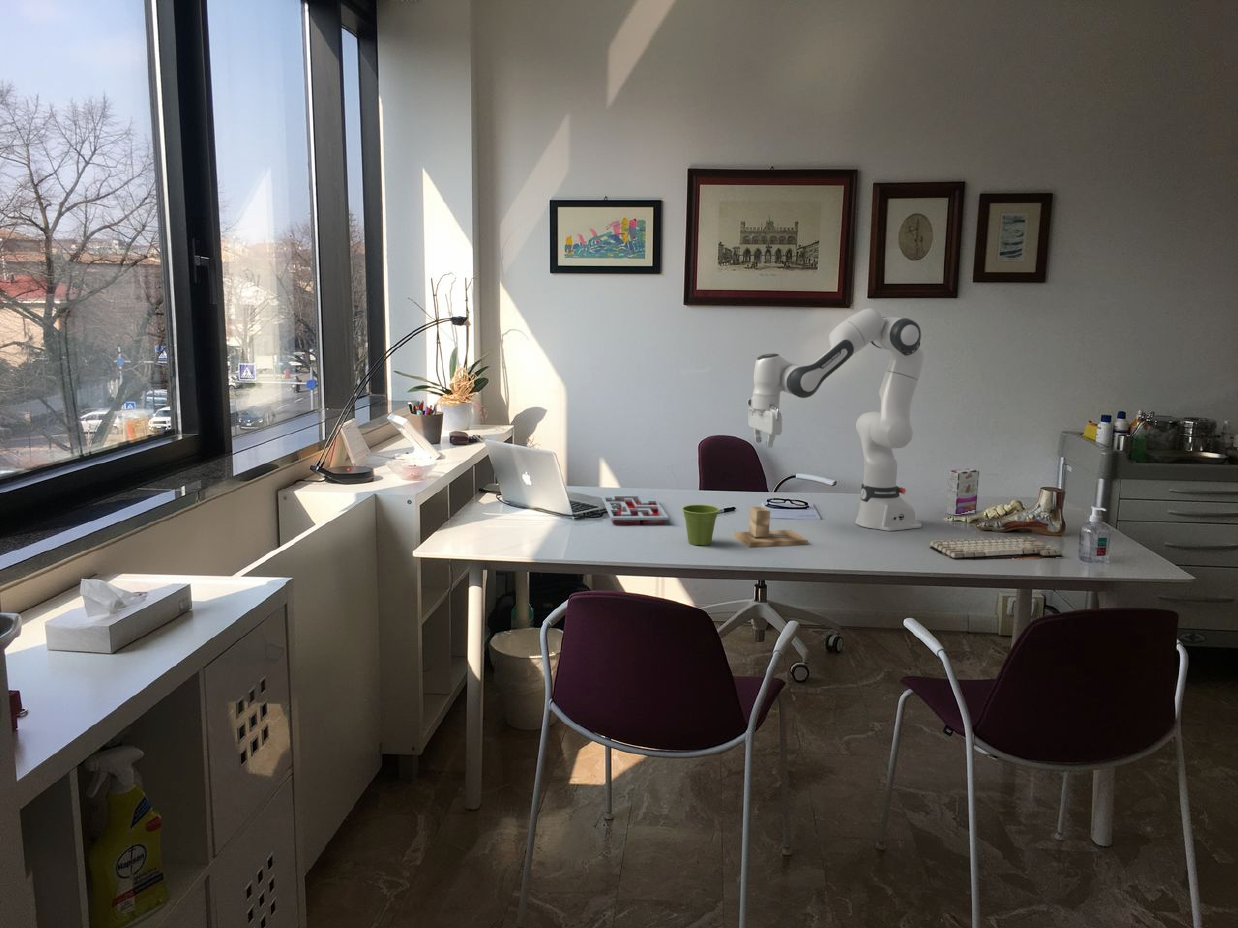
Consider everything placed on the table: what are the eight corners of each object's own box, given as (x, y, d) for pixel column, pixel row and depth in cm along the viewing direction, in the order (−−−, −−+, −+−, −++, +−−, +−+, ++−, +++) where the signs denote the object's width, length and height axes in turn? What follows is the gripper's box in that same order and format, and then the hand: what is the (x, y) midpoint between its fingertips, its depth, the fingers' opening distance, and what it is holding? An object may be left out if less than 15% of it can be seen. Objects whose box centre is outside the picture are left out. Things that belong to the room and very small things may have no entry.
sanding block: (762, 533, 315) (763, 506, 314) (768, 537, 310) (770, 510, 309) (748, 534, 314) (750, 507, 313) (755, 538, 309) (756, 510, 307)
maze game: (668, 526, 330) (668, 517, 329) (611, 526, 327) (611, 517, 327) (653, 503, 364) (653, 495, 363) (601, 503, 362) (601, 495, 361)
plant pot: (689, 536, 316) (690, 502, 314) (723, 541, 311) (725, 507, 308) (674, 544, 306) (675, 509, 303) (709, 550, 300) (710, 514, 298)
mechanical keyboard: (958, 564, 293) (959, 553, 293) (924, 548, 312) (925, 538, 311) (1066, 560, 302) (1067, 549, 301) (1027, 544, 320) (1028, 534, 320)
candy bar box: (965, 510, 364) (969, 467, 361) (976, 513, 360) (980, 470, 357) (944, 513, 358) (948, 469, 355) (955, 516, 354) (959, 472, 351)
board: (790, 534, 322) (790, 529, 322) (807, 544, 310) (807, 539, 309) (734, 536, 317) (734, 532, 317) (749, 547, 304) (749, 542, 304)
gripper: (787, 407, 310) (785, 449, 313) (762, 399, 330) (760, 439, 332) (769, 407, 309) (767, 450, 311) (745, 399, 328) (743, 440, 330)
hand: (763, 444), depth 322 cm, fingers open, 8 cm apart
